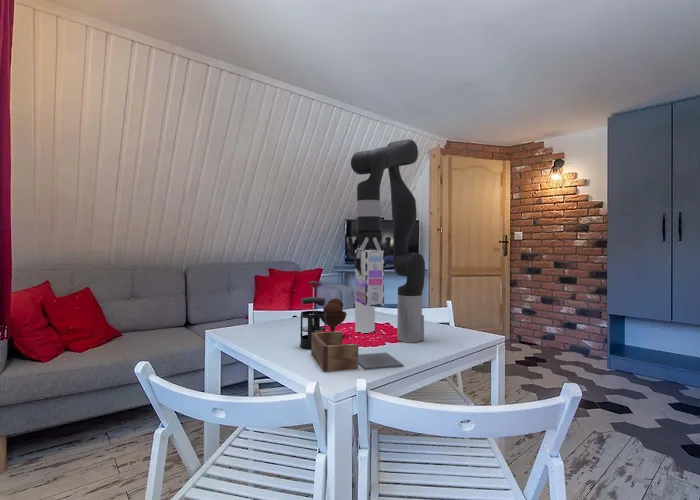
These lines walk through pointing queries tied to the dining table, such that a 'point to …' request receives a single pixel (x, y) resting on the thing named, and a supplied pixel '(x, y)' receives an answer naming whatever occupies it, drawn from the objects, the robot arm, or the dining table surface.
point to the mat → (377, 361)
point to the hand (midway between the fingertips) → (368, 270)
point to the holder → (333, 351)
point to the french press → (312, 319)
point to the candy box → (370, 278)
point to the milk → (364, 317)
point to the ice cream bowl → (334, 313)
